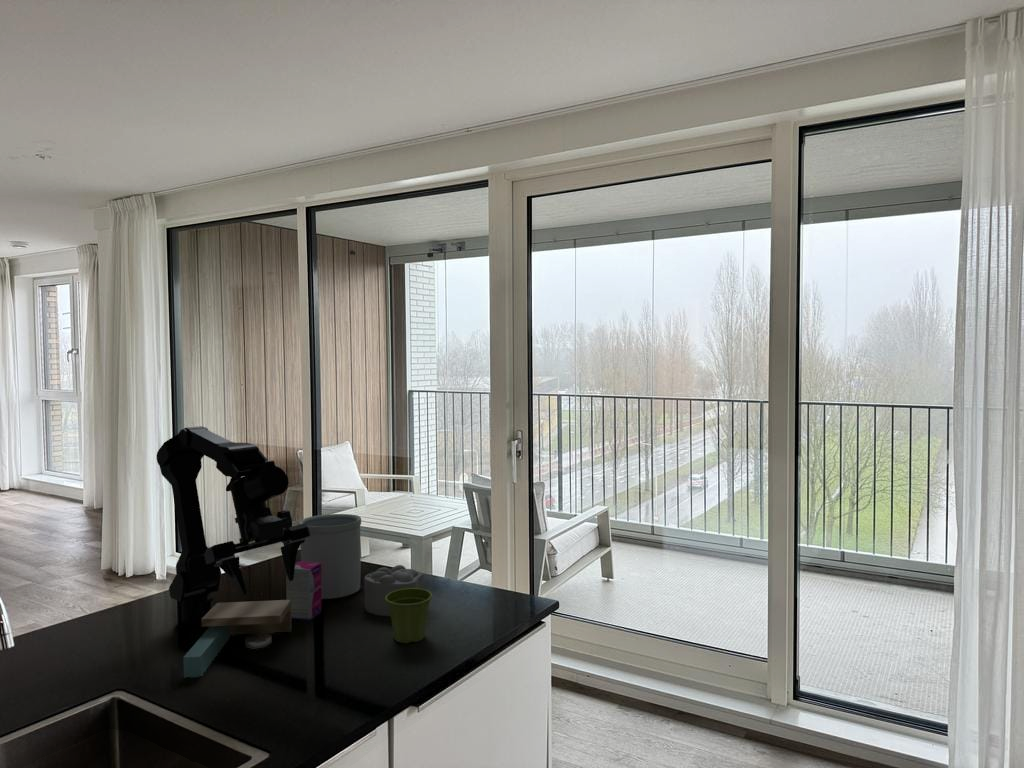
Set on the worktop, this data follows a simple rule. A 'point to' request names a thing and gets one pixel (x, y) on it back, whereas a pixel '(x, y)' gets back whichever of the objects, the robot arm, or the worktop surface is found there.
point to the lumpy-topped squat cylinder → (388, 586)
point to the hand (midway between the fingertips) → (268, 587)
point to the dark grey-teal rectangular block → (205, 650)
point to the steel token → (258, 640)
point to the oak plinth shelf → (251, 616)
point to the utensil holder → (334, 552)
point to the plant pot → (409, 613)
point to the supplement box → (305, 591)
